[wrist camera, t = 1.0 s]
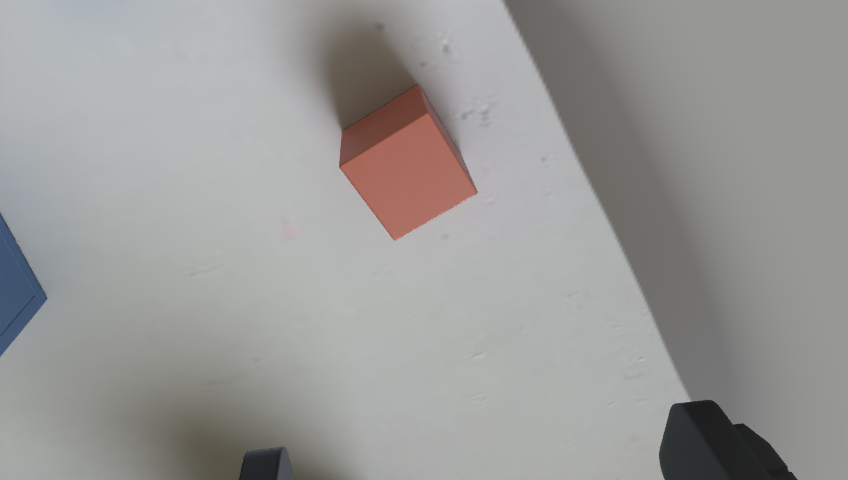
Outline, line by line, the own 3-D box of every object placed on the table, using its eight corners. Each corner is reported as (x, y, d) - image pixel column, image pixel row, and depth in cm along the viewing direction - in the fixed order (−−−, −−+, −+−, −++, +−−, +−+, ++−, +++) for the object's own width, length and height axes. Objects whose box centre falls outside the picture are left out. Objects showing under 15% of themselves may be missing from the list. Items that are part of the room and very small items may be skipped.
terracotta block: (341, 131, 24) (338, 166, 21) (418, 83, 24) (428, 111, 20) (389, 199, 26) (394, 241, 23) (462, 156, 26) (478, 193, 22)
